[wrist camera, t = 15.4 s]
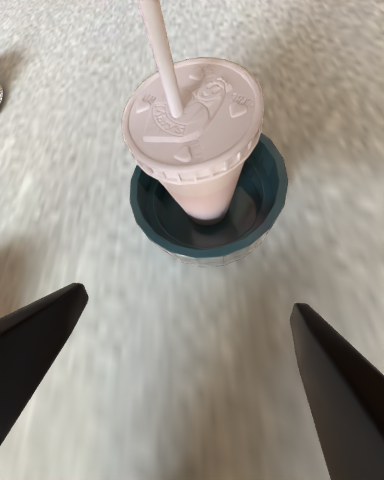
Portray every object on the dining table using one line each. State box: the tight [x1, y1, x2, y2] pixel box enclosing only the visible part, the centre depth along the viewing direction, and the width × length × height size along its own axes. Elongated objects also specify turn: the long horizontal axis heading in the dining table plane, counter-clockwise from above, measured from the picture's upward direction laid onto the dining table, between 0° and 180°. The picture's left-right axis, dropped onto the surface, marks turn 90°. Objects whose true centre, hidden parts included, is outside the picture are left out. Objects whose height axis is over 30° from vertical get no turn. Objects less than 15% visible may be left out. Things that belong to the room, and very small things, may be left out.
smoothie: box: [122, 0, 264, 226], centre depth 11 cm, size 6×6×14 cm
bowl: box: [130, 133, 288, 267], centre depth 16 cm, size 11×11×4 cm
